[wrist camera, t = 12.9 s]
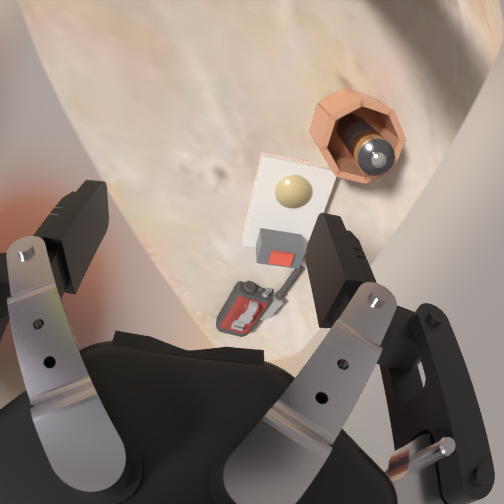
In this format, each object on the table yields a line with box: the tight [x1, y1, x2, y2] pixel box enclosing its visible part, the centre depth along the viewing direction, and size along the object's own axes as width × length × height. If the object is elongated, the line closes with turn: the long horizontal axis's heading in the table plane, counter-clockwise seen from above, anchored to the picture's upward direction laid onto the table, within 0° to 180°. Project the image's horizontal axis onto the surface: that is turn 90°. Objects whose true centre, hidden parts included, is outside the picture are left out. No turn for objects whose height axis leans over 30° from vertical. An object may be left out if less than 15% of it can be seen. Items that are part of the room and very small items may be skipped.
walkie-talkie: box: [216, 266, 302, 337], centre depth 54 cm, size 9×4×20 cm
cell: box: [336, 114, 395, 176], centre depth 32 cm, size 4×4×10 cm
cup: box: [310, 88, 406, 184], centre depth 34 cm, size 10×10×6 cm
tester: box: [242, 152, 336, 269], centre depth 42 cm, size 14×10×6 cm
